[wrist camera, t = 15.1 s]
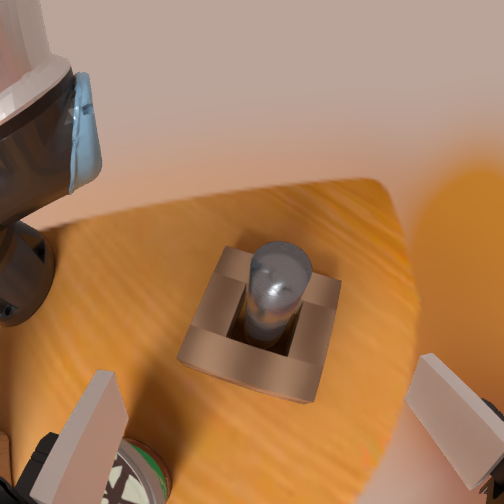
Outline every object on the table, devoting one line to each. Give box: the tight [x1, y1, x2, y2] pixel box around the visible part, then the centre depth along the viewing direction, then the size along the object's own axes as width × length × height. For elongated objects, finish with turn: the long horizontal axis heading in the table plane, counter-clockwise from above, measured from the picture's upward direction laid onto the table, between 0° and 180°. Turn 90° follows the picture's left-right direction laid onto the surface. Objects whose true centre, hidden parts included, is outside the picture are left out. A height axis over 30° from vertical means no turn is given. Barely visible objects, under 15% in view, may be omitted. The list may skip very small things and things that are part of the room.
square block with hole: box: [176, 246, 342, 404], centre depth 28 cm, size 13×13×4 cm
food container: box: [101, 436, 172, 504], centre depth 16 cm, size 12×6×10 cm, turn 3°
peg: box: [244, 241, 312, 349], centre depth 24 cm, size 4×4×14 cm
